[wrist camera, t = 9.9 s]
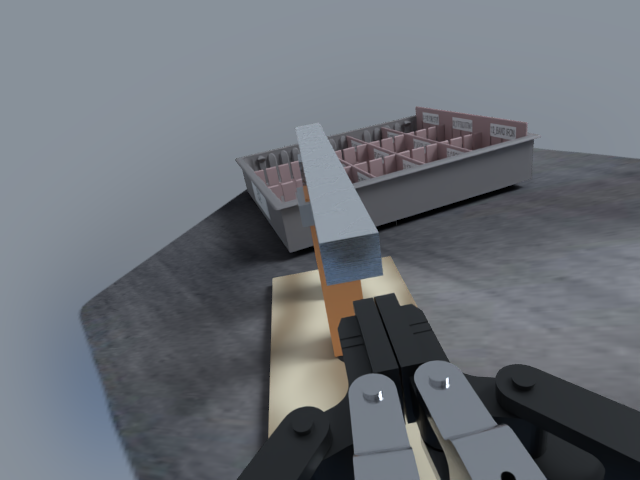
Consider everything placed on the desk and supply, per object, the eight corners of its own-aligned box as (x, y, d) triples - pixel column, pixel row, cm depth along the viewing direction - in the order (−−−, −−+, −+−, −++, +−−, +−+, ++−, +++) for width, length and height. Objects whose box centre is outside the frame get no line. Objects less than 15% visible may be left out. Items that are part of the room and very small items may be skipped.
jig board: (390, 263, 49) (390, 255, 48) (530, 531, 22) (531, 519, 21) (274, 285, 49) (272, 277, 48) (268, 582, 22) (264, 571, 21)
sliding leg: (368, 323, 37) (347, 175, 31) (377, 353, 34) (356, 192, 28) (324, 331, 37) (295, 185, 31) (329, 362, 34) (298, 203, 28)
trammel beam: (344, 266, 48) (322, 122, 41) (412, 492, 24) (385, 230, 16) (319, 271, 48) (292, 127, 41) (361, 503, 24) (311, 244, 16)
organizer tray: (244, 198, 81) (231, 148, 77) (422, 151, 90) (420, 104, 86) (287, 266, 53) (271, 193, 49) (539, 187, 62) (543, 120, 58)
